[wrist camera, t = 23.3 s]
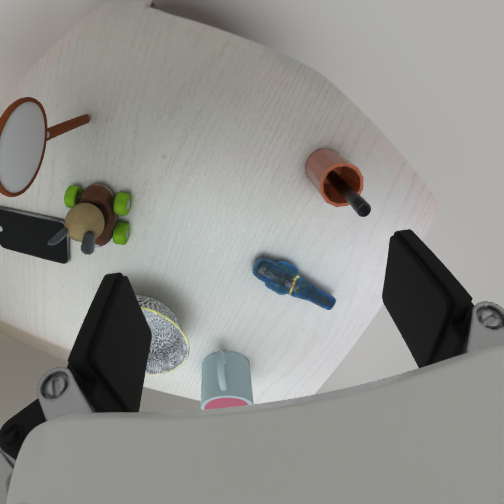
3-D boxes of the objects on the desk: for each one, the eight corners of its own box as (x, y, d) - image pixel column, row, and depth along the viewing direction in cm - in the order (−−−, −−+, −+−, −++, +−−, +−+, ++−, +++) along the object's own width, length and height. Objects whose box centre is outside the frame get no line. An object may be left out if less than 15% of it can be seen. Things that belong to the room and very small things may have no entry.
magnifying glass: (90, 150, 35) (1, 215, 18) (79, 148, 35) (-13, 212, 18) (100, 86, 31) (1, 105, 14) (88, 84, 31) (-14, 105, 14)
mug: (250, 377, 61) (254, 418, 53) (206, 380, 61) (205, 421, 52) (246, 332, 54) (250, 378, 45) (194, 336, 54) (191, 381, 45)
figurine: (334, 287, 51) (260, 245, 46) (345, 295, 47) (266, 251, 43) (319, 310, 51) (243, 272, 47) (329, 320, 48) (249, 281, 43)
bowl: (211, 311, 51) (211, 345, 44) (157, 355, 56) (152, 386, 49) (132, 255, 44) (119, 286, 38) (86, 310, 49) (73, 341, 43)
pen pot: (304, 150, 38) (319, 165, 32) (342, 147, 38) (363, 161, 32) (306, 187, 41) (320, 209, 35) (343, 183, 41) (362, 204, 35)
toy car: (73, 233, 41) (41, 276, 32) (72, 177, 37) (32, 211, 27) (129, 242, 43) (107, 290, 33) (132, 184, 39) (104, 222, 29)
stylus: (320, 164, 39) (357, 204, 28) (330, 163, 39) (371, 202, 28) (320, 175, 40) (357, 218, 28) (330, 174, 40) (370, 216, 28)
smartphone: (-6, 206, 36) (67, 222, 39) (-4, 204, 37) (69, 220, 40) (-1, 247, 40) (69, 266, 43) (1, 245, 41) (70, 263, 44)
